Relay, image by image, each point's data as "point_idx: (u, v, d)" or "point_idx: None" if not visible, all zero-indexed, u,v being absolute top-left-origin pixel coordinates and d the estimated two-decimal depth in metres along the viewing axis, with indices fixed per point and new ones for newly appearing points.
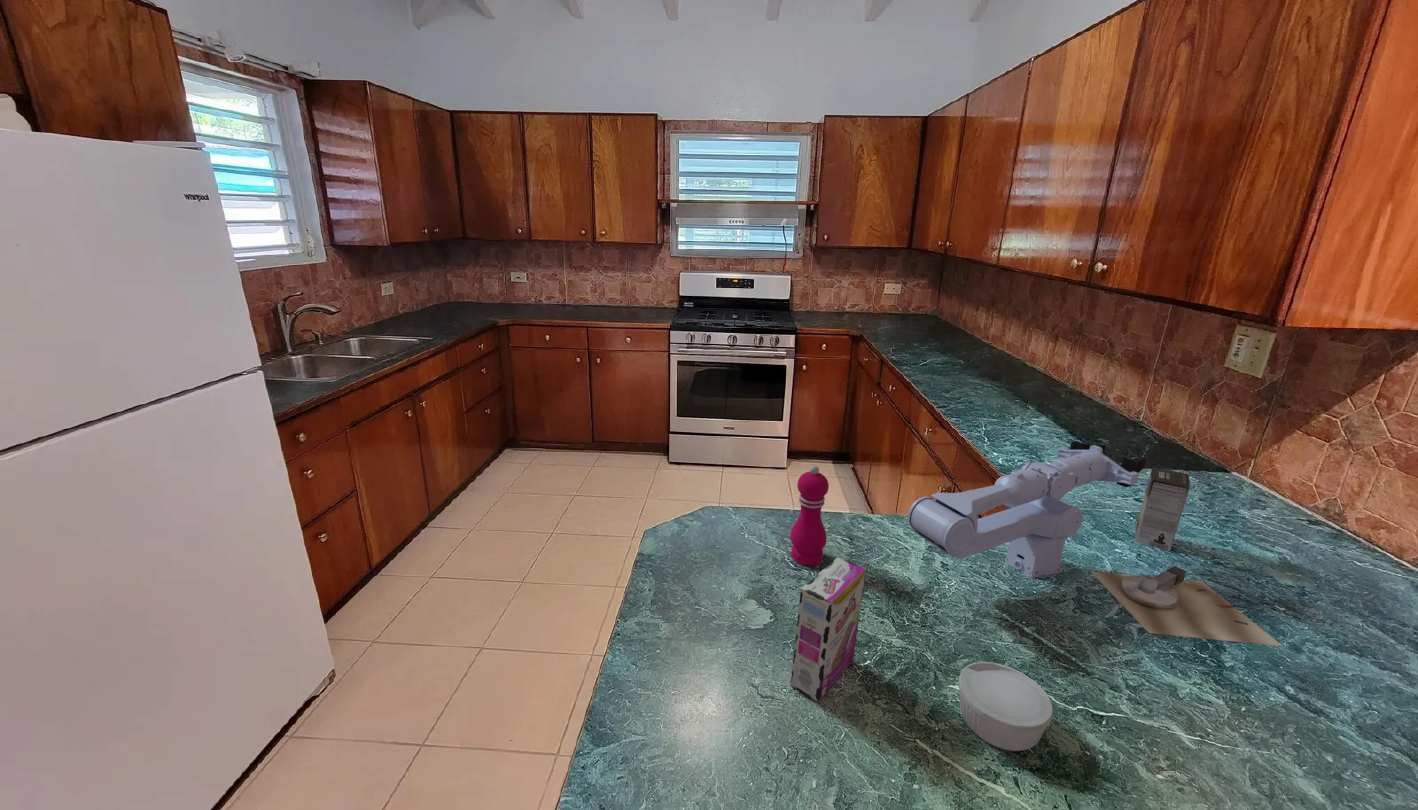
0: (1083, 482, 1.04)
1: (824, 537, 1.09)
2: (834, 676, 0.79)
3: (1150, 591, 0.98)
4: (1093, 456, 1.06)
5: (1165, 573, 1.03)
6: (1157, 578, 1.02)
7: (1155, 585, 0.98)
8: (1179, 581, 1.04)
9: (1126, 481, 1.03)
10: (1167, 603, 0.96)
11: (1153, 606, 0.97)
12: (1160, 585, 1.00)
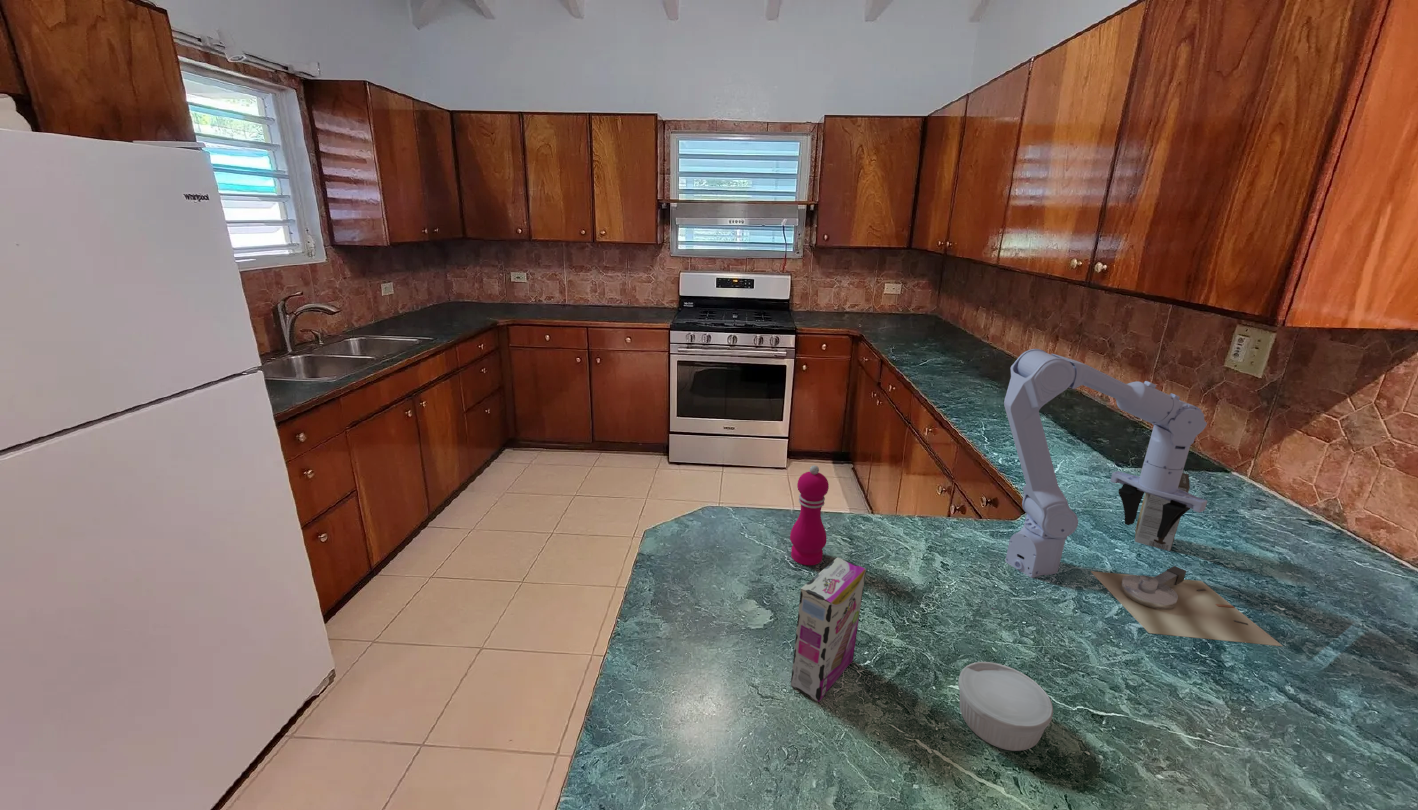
0: (1170, 460, 0.99)
1: (824, 537, 1.09)
2: (834, 676, 0.79)
3: (1150, 591, 0.98)
4: None
5: (1165, 573, 1.03)
6: (1157, 578, 1.02)
7: (1155, 585, 0.98)
8: (1179, 581, 1.04)
9: None
10: (1167, 603, 0.96)
11: (1153, 606, 0.97)
12: (1160, 585, 1.00)
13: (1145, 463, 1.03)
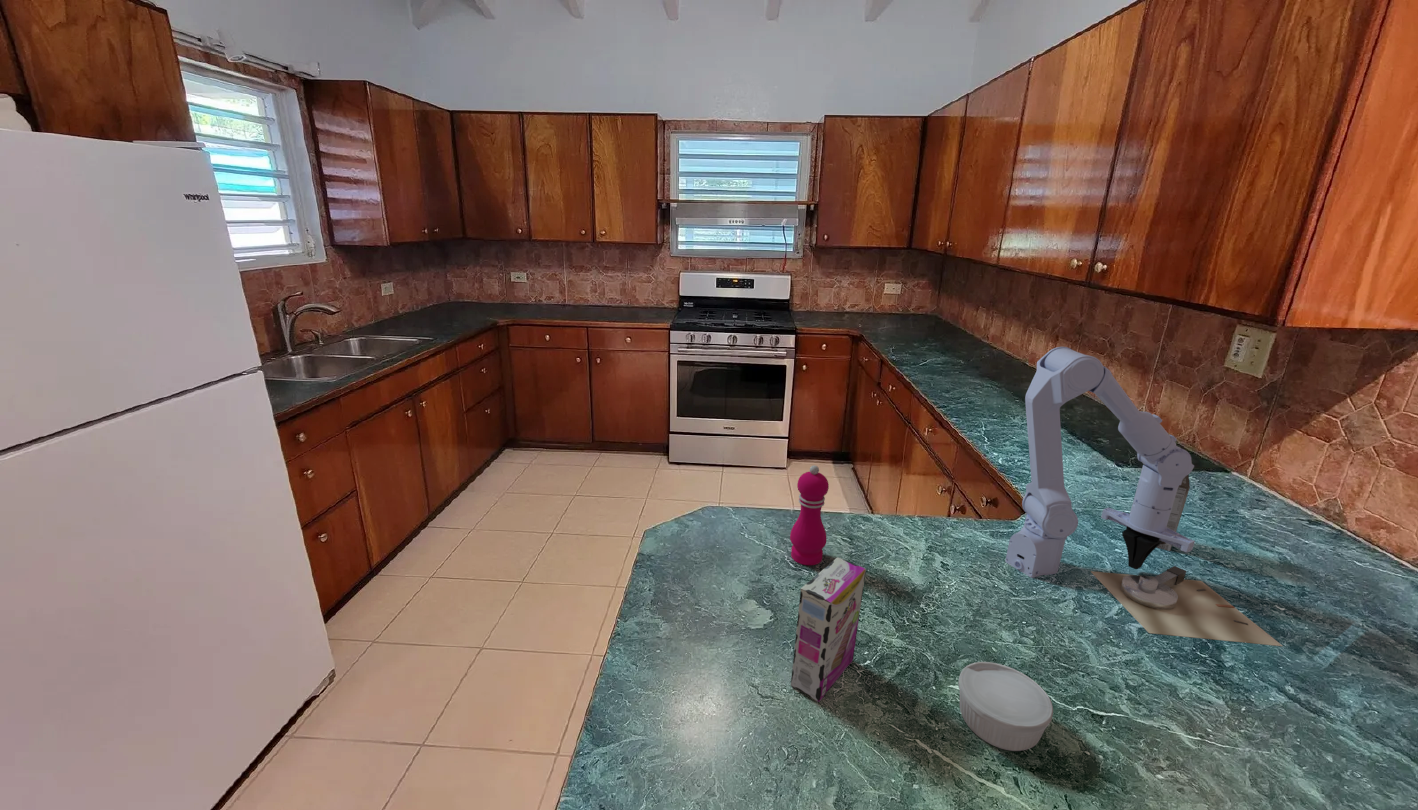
0: (1158, 500, 1.01)
1: (824, 537, 1.09)
2: (834, 676, 0.79)
3: (1150, 591, 0.98)
4: None
5: (1165, 573, 1.03)
6: (1157, 578, 1.02)
7: (1155, 585, 0.98)
8: (1179, 581, 1.04)
9: None
10: (1167, 603, 0.96)
11: (1153, 606, 0.97)
12: (1160, 585, 1.00)
13: (1134, 502, 1.05)
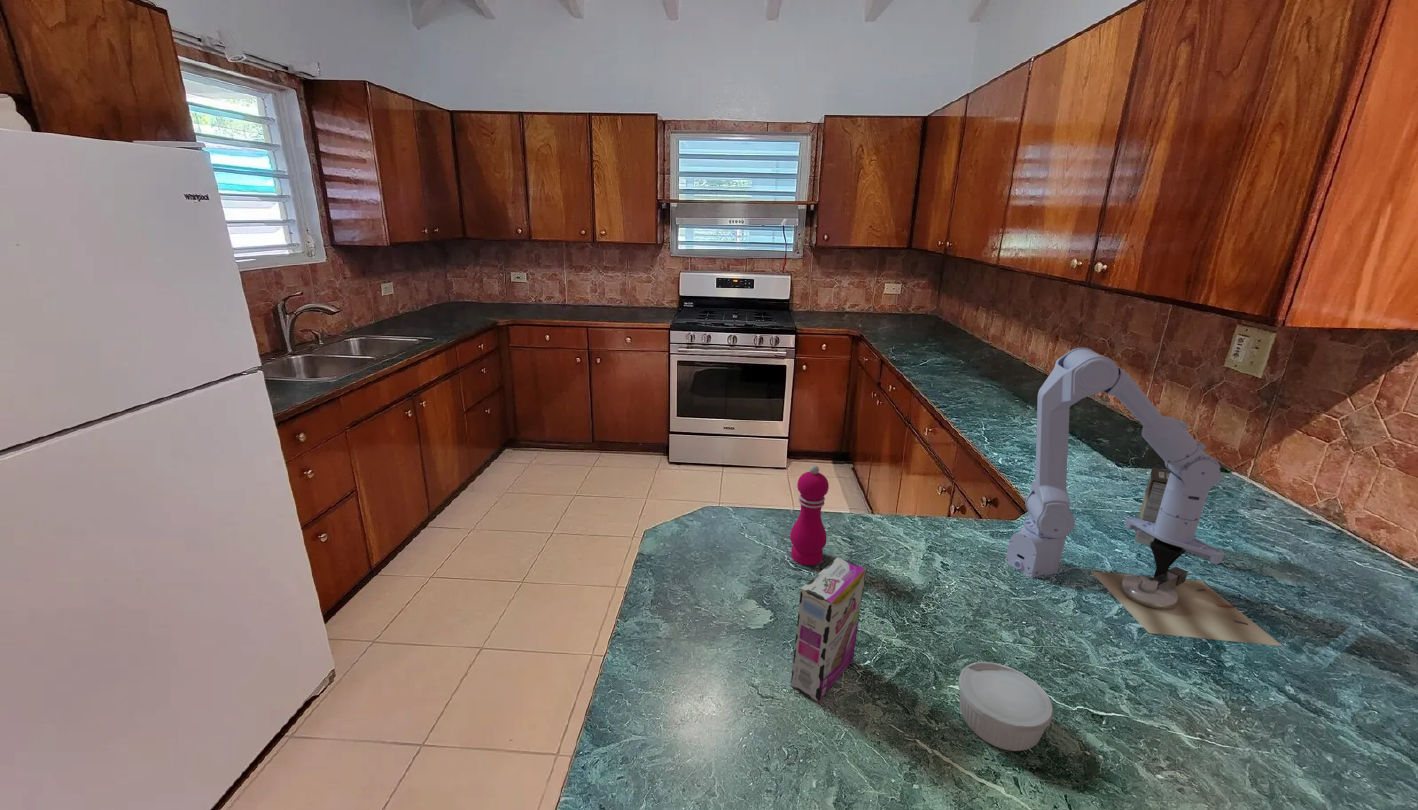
0: (1183, 509, 0.98)
1: (824, 537, 1.09)
2: (834, 676, 0.79)
3: (1150, 591, 0.98)
4: None
5: (1166, 573, 1.03)
6: (1158, 578, 1.02)
7: (1154, 585, 0.98)
8: (1180, 582, 1.04)
9: None
10: (1167, 603, 0.96)
11: (1153, 606, 0.97)
12: (1160, 585, 1.00)
13: (1160, 512, 1.02)
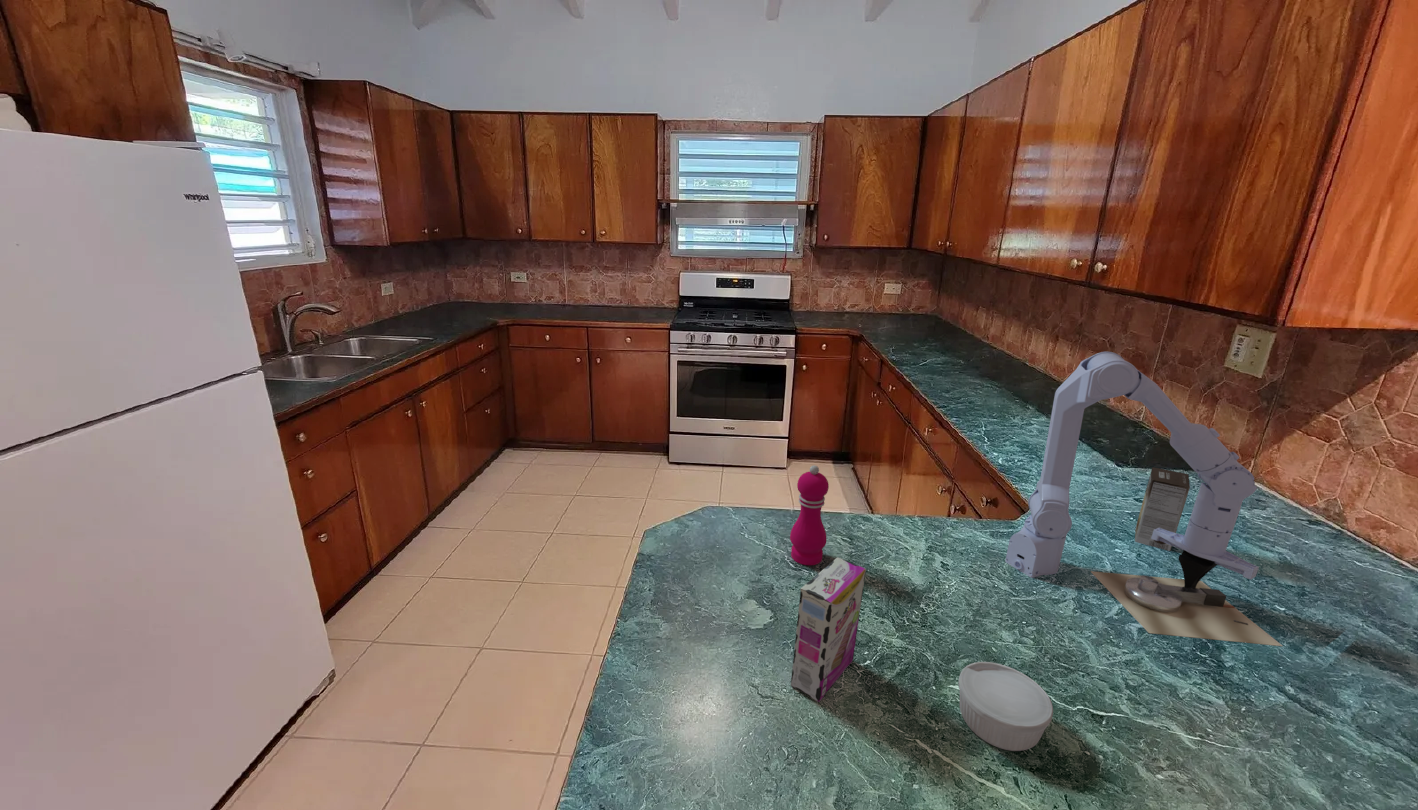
0: (1212, 521, 0.94)
1: (824, 537, 1.09)
2: (834, 676, 0.79)
3: (1144, 589, 0.99)
4: None
5: (1192, 588, 0.99)
6: (1172, 587, 0.99)
7: (1149, 584, 0.98)
8: (1212, 603, 0.97)
9: None
10: (1154, 603, 0.96)
11: (1139, 602, 0.98)
12: (1167, 591, 0.98)
13: (1191, 523, 0.98)
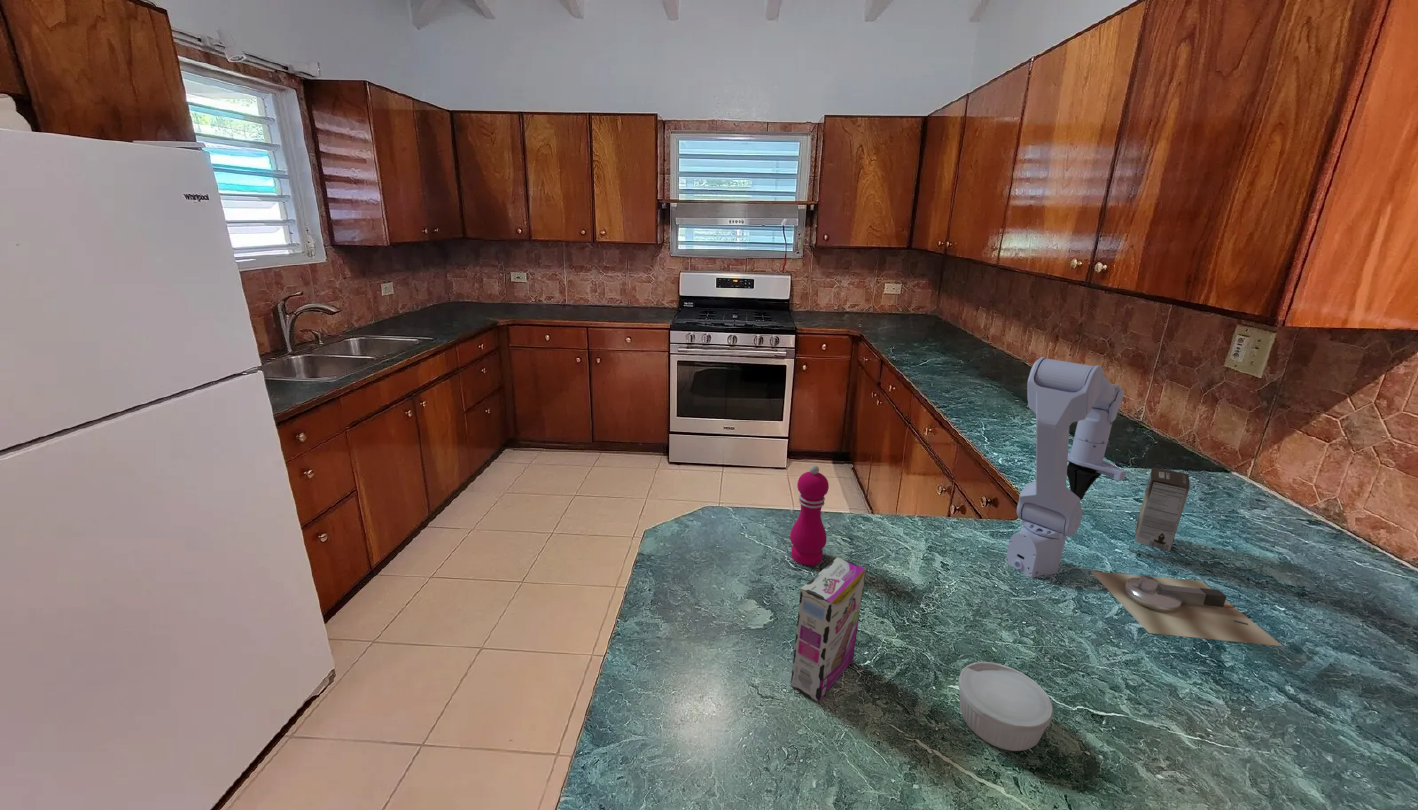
0: (1106, 435, 1.11)
1: (824, 537, 1.09)
2: (834, 676, 0.79)
3: (1144, 589, 0.99)
4: None
5: (1192, 588, 0.99)
6: (1172, 587, 0.99)
7: (1149, 584, 0.98)
8: (1212, 603, 0.97)
9: None
10: (1154, 603, 0.96)
11: (1139, 602, 0.98)
12: (1167, 591, 0.98)
13: (1075, 438, 1.15)
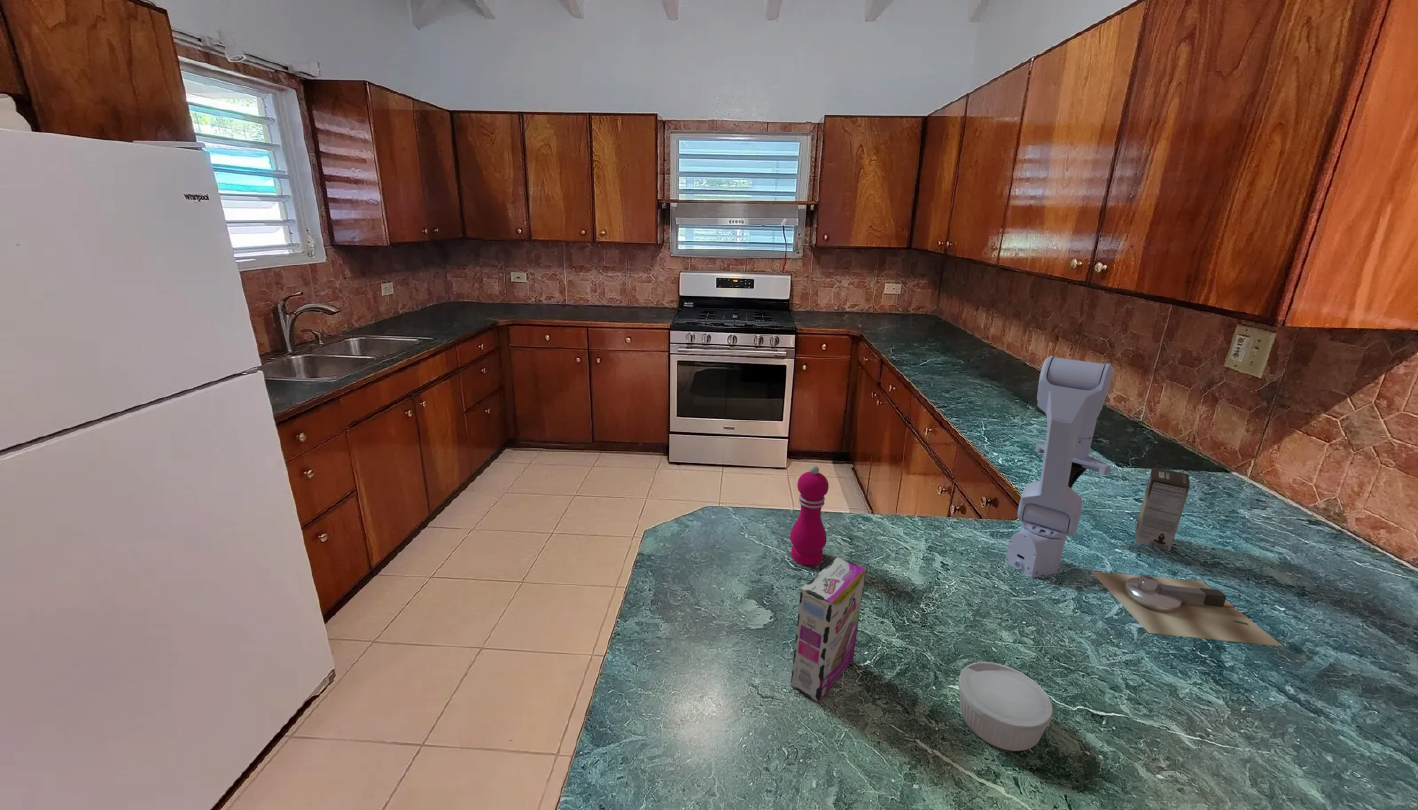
0: (1092, 430, 1.14)
1: (824, 537, 1.09)
2: (834, 676, 0.79)
3: (1144, 589, 0.99)
4: None
5: (1192, 588, 0.99)
6: (1172, 587, 0.99)
7: (1149, 584, 0.98)
8: (1212, 603, 0.97)
9: None
10: (1154, 603, 0.96)
11: (1139, 602, 0.98)
12: (1167, 591, 0.98)
13: None
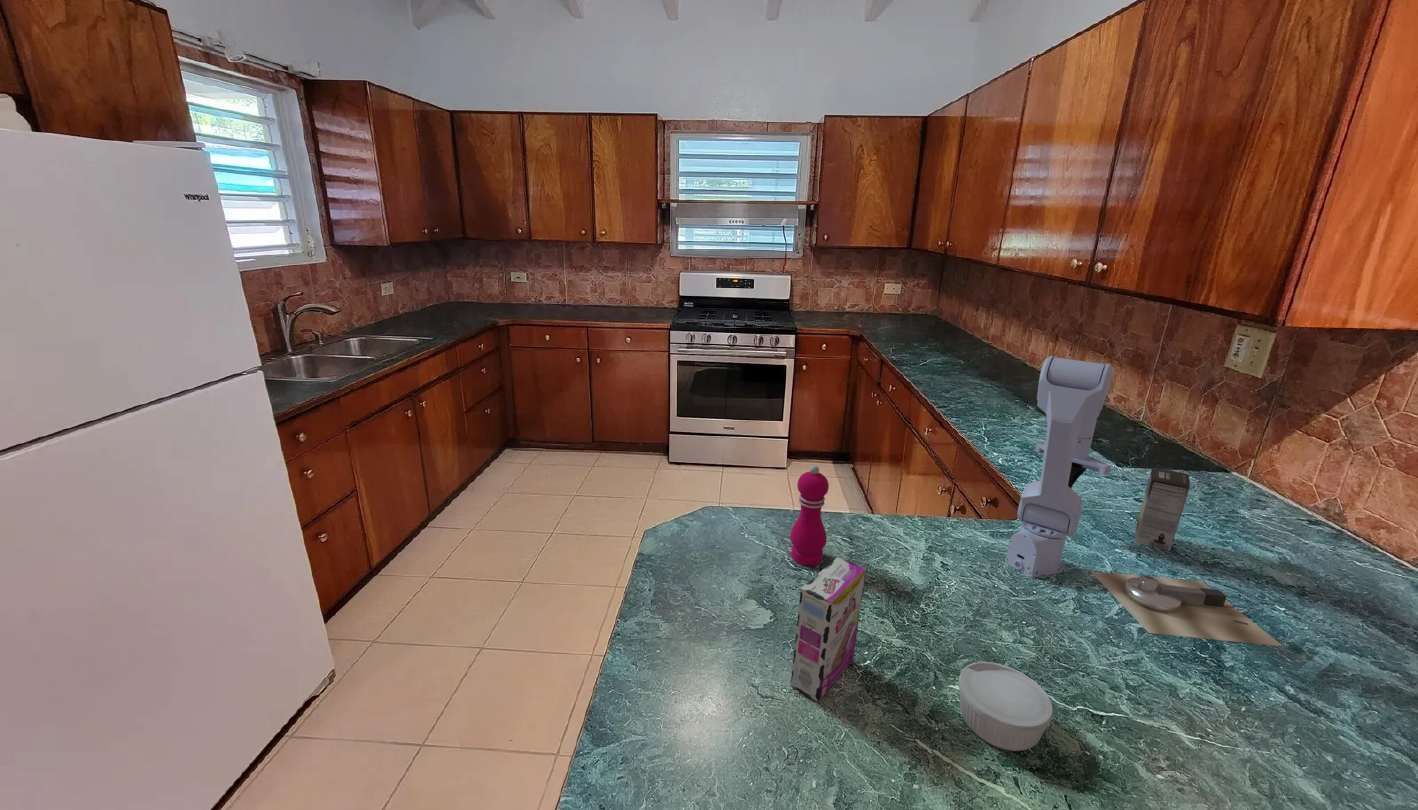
0: (1092, 430, 1.14)
1: (824, 537, 1.09)
2: (834, 676, 0.79)
3: (1144, 589, 0.99)
4: None
5: (1192, 588, 0.99)
6: (1172, 587, 0.99)
7: (1149, 584, 0.98)
8: (1212, 603, 0.97)
9: None
10: (1154, 603, 0.96)
11: (1139, 602, 0.98)
12: (1167, 591, 0.98)
13: None
